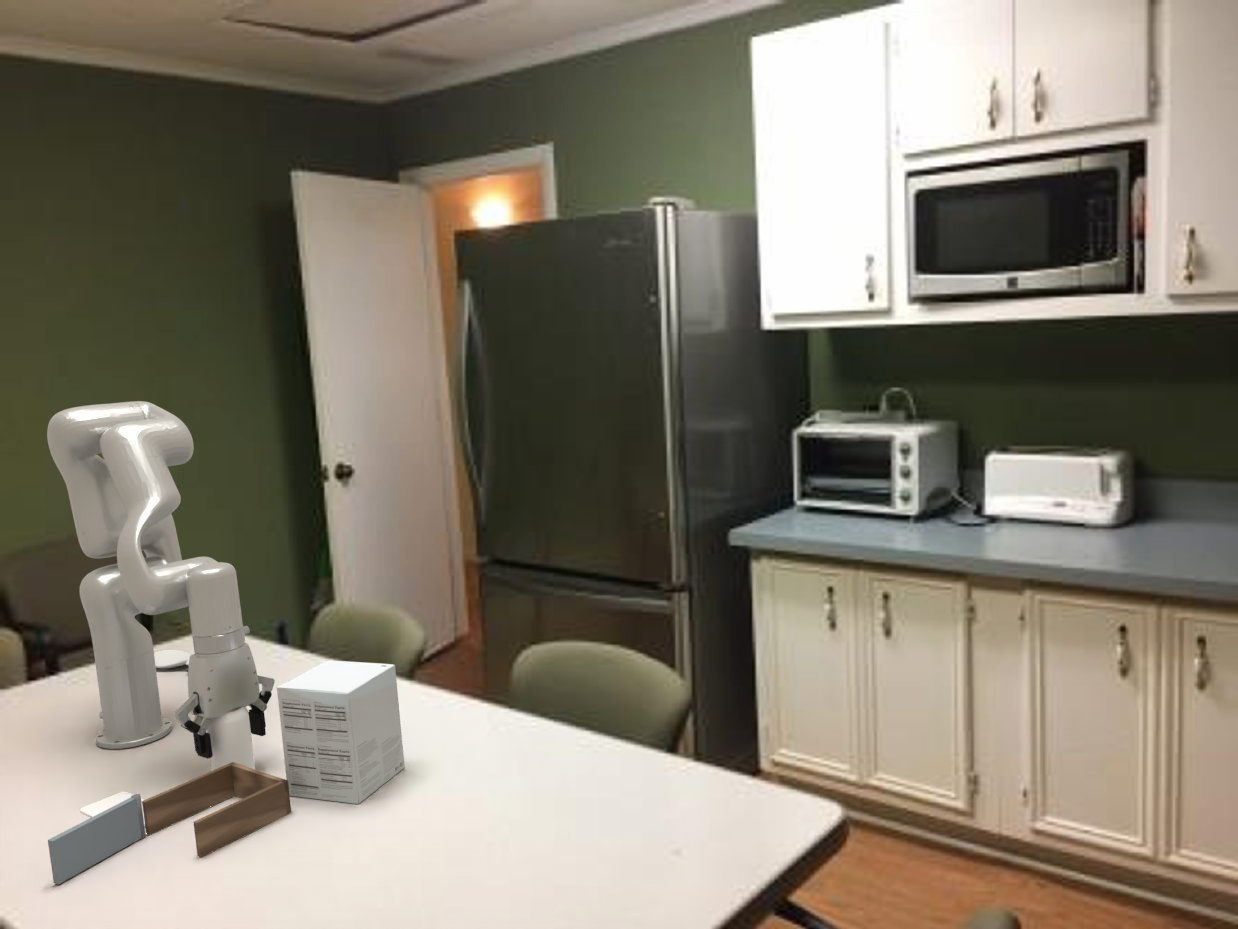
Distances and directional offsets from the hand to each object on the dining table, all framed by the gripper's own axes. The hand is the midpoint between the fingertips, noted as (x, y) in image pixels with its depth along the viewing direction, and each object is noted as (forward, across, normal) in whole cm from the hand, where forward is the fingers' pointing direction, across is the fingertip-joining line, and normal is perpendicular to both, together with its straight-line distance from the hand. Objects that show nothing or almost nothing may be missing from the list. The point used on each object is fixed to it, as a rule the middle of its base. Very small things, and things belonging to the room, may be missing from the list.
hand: (232, 745), depth 164 cm
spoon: (+5, -28, -56) cm, 63 cm away
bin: (+6, +11, +11) cm, 17 cm away
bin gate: (+6, +25, +6) cm, 27 cm away
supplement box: (+6, -8, +17) cm, 20 cm away
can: (+6, 0, -1) cm, 6 cm away
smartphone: (+6, +16, -5) cm, 18 cm away
